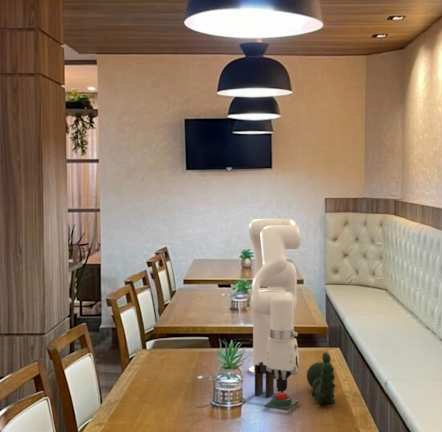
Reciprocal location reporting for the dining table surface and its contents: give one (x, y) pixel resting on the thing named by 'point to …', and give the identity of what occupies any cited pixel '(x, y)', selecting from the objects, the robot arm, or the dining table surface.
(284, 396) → the button
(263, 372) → the press lever
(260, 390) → the lever bracket
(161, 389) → the dining table surface
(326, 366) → the green bumpy upright shape
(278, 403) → the console
